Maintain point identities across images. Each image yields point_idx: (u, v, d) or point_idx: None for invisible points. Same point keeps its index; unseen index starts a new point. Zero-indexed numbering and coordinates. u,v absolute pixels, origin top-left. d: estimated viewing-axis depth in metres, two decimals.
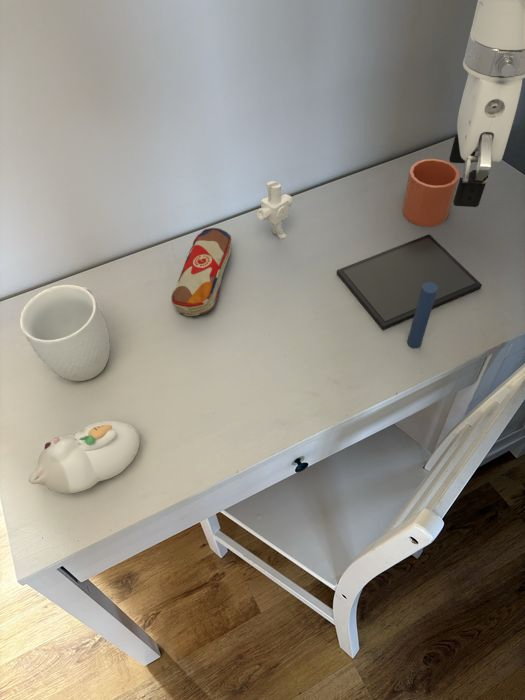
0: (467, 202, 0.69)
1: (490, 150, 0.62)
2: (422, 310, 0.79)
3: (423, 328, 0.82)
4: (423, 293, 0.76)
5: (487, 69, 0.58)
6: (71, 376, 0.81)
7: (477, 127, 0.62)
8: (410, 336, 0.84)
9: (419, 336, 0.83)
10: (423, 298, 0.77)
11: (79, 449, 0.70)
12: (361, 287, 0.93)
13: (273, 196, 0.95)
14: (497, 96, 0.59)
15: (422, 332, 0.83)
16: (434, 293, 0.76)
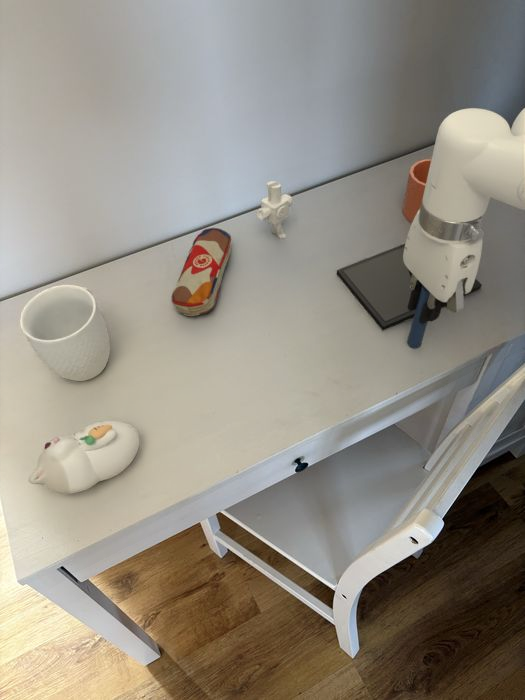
0: (433, 319, 0.78)
1: (462, 295, 0.71)
2: None
3: (423, 328, 0.82)
4: (423, 293, 0.76)
5: (456, 236, 0.64)
6: (71, 376, 0.81)
7: (455, 278, 0.68)
8: (410, 336, 0.84)
9: (419, 336, 0.83)
10: (423, 298, 0.77)
11: (79, 449, 0.70)
12: (361, 287, 0.93)
13: (273, 196, 0.95)
14: (469, 253, 0.65)
15: (422, 332, 0.83)
16: None
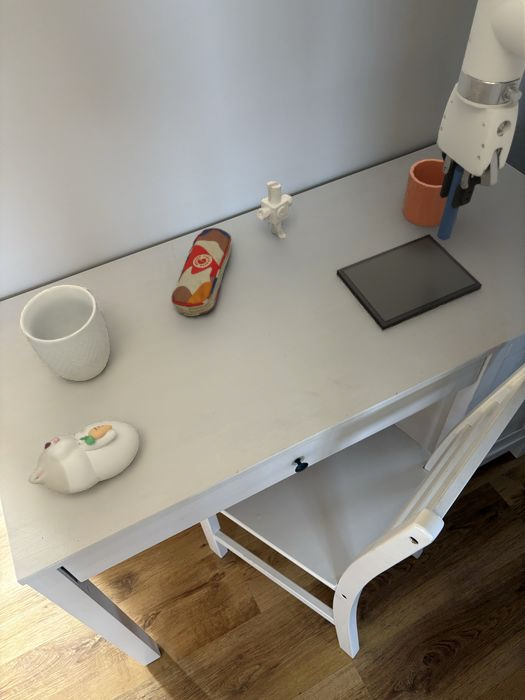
0: (465, 202, 0.82)
1: (496, 168, 0.74)
2: None
3: (454, 216, 0.85)
4: (456, 175, 0.80)
5: (495, 99, 0.67)
6: (71, 376, 0.81)
7: (491, 147, 0.71)
8: (440, 227, 0.88)
9: (449, 225, 0.87)
10: (456, 181, 0.80)
11: (79, 449, 0.70)
12: (361, 287, 0.93)
13: (273, 196, 0.95)
14: (505, 118, 0.69)
15: (452, 221, 0.86)
16: None
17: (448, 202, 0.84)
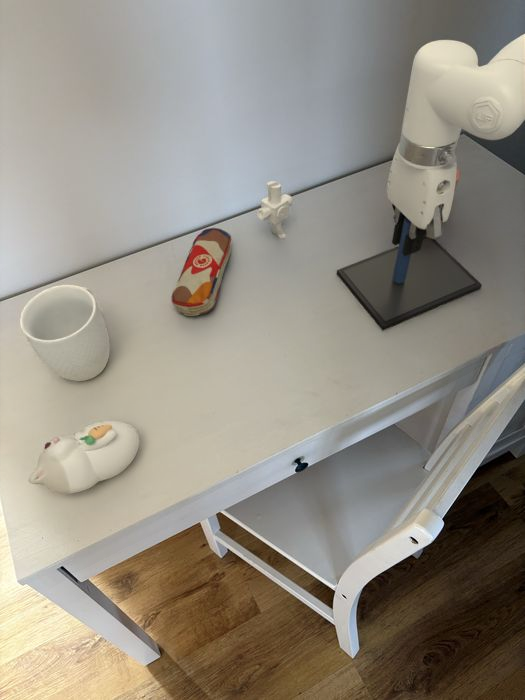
0: (415, 250, 0.85)
1: (439, 222, 0.77)
2: None
3: (406, 262, 0.88)
4: (405, 225, 0.83)
5: (432, 162, 0.70)
6: (71, 376, 0.81)
7: (432, 204, 0.74)
8: (395, 271, 0.91)
9: (402, 270, 0.90)
10: (405, 230, 0.84)
11: (79, 449, 0.70)
12: (361, 287, 0.93)
13: (273, 196, 0.95)
14: (444, 178, 0.72)
15: (405, 266, 0.89)
16: None
17: (400, 249, 0.87)
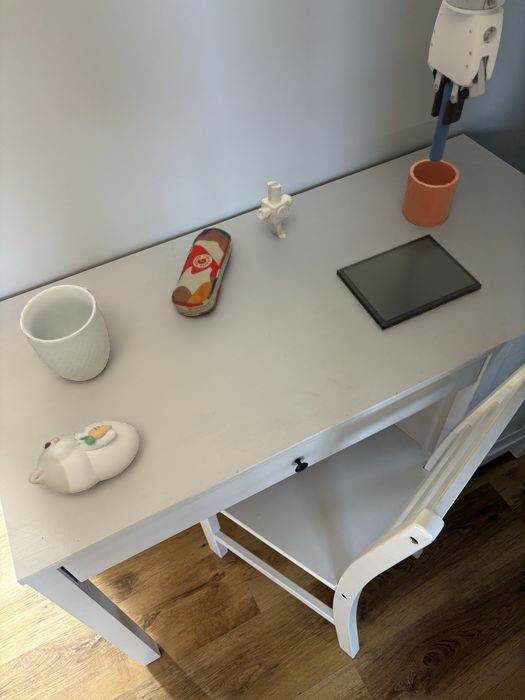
0: (455, 118, 0.86)
1: (483, 78, 0.78)
2: None
3: (445, 135, 0.90)
4: (446, 91, 0.84)
5: (480, 5, 0.71)
6: (71, 376, 0.81)
7: (478, 54, 0.75)
8: (432, 148, 0.92)
9: (440, 145, 0.91)
10: (446, 97, 0.85)
11: (79, 449, 0.70)
12: (361, 287, 0.93)
13: (273, 196, 0.95)
14: (491, 24, 0.73)
15: (443, 140, 0.90)
16: None
17: (439, 120, 0.88)
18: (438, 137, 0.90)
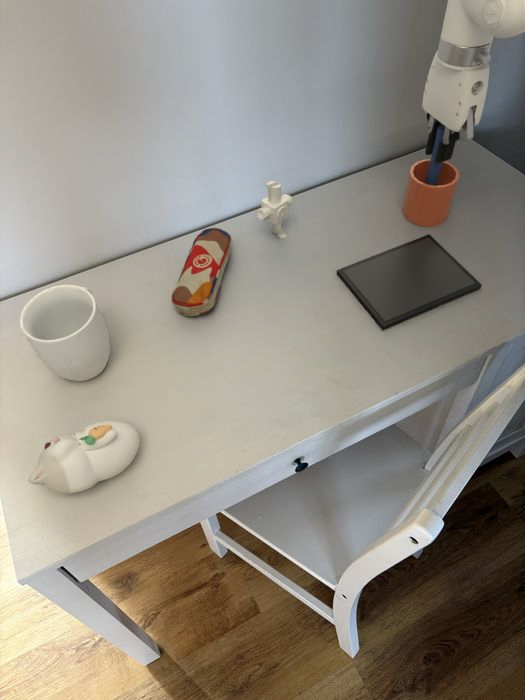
0: (447, 157, 0.94)
1: (472, 124, 0.86)
2: None
3: (438, 171, 0.97)
4: (439, 133, 0.92)
5: (468, 62, 0.79)
6: (71, 376, 0.81)
7: (467, 104, 0.83)
8: (426, 182, 1.00)
9: (434, 180, 0.99)
10: (438, 138, 0.92)
11: (79, 449, 0.70)
12: (361, 287, 0.93)
13: (273, 196, 0.95)
14: (478, 78, 0.81)
15: (437, 176, 0.98)
16: None
17: (432, 158, 0.96)
18: (432, 173, 0.98)
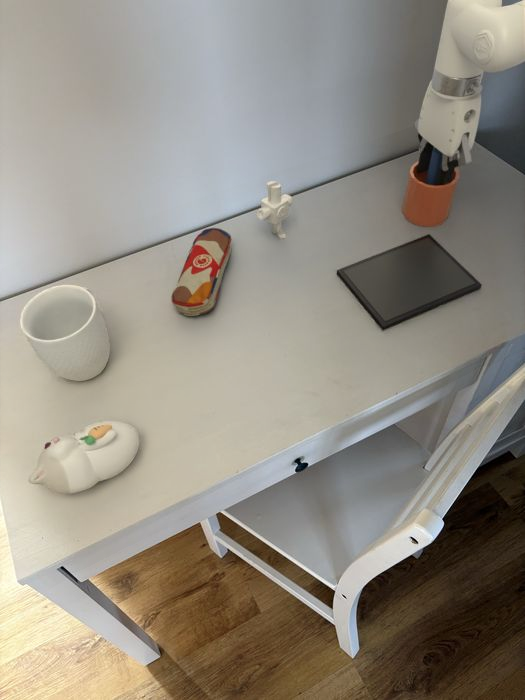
0: (446, 183, 0.96)
1: (468, 148, 0.89)
2: (432, 172, 0.97)
3: None
4: (434, 155, 0.95)
5: (461, 92, 0.83)
6: (71, 376, 0.81)
7: (460, 131, 0.87)
8: None
9: None
10: (433, 160, 0.96)
11: (79, 449, 0.70)
12: (361, 287, 0.93)
13: (273, 196, 0.95)
14: (470, 107, 0.84)
15: None
16: (442, 154, 0.95)
17: (428, 179, 0.99)
18: None
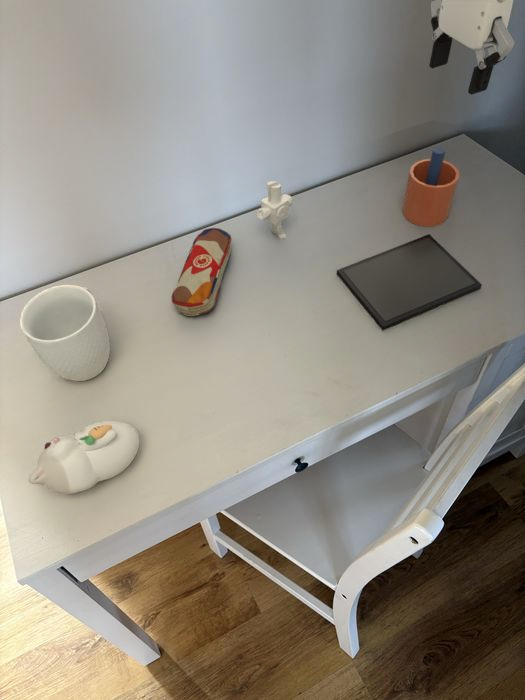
0: (483, 86, 0.81)
1: (506, 30, 0.74)
2: (432, 172, 0.97)
3: None
4: (434, 155, 0.95)
5: None
6: (71, 376, 0.81)
7: (491, 14, 0.73)
8: None
9: None
10: (433, 160, 0.96)
11: (79, 449, 0.70)
12: (361, 287, 0.93)
13: (273, 196, 0.95)
14: None
15: None
16: (442, 154, 0.95)
17: (428, 179, 0.99)
18: None
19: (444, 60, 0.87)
